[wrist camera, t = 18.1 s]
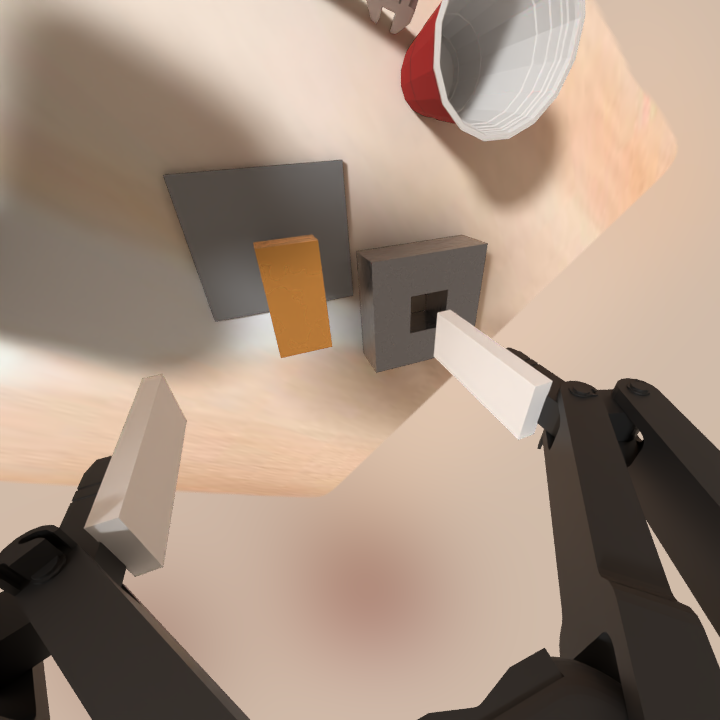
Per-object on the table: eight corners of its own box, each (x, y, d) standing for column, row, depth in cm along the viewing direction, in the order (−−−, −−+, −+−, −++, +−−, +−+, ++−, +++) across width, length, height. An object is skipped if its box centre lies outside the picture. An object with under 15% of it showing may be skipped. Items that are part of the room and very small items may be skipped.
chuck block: (363, 353, 44) (376, 372, 40) (356, 251, 36) (371, 262, 32) (451, 332, 47) (471, 348, 43) (462, 234, 40) (487, 243, 36)
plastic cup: (358, 12, 26) (429, -73, 16) (472, -22, 27) (600, -121, 18) (386, 161, 32) (449, 162, 23) (477, 128, 34) (573, 115, 24)
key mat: (215, 319, 35) (215, 321, 35) (164, 174, 27) (163, 175, 27) (351, 293, 39) (353, 295, 38) (340, 159, 31) (342, 159, 31)
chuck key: (247, 217, 31) (254, 249, 19) (288, 212, 31) (318, 240, 20) (266, 295, 35) (280, 358, 24) (301, 288, 36) (332, 346, 25)
